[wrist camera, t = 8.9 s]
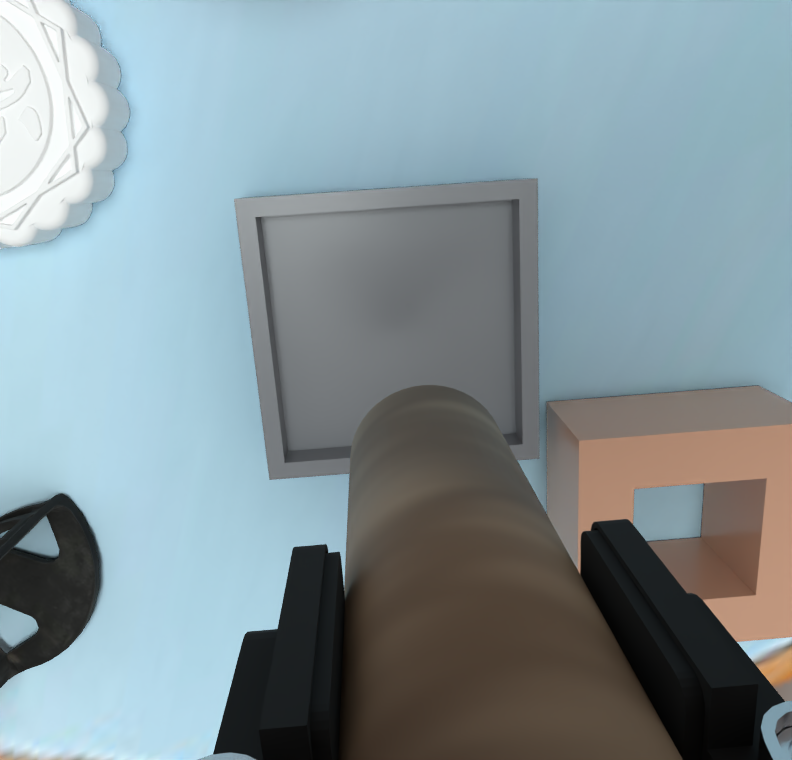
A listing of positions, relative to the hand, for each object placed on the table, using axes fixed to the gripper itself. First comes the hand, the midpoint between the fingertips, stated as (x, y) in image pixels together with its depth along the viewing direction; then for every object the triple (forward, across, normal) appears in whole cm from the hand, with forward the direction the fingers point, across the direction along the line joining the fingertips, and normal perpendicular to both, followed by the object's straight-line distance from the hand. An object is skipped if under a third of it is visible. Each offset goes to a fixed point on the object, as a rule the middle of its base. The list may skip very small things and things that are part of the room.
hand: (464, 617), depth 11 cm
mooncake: (+24, +17, -11) cm, 31 cm away
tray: (+23, 0, 0) cm, 23 cm away
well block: (+23, -13, +10) cm, 28 cm away
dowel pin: (+7, 0, 0) cm, 7 cm away
